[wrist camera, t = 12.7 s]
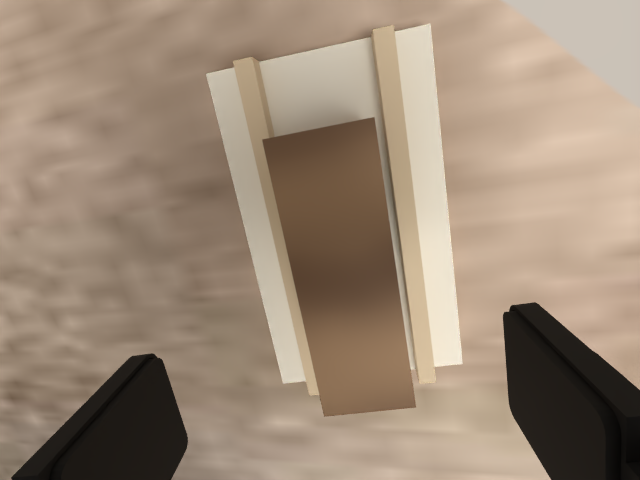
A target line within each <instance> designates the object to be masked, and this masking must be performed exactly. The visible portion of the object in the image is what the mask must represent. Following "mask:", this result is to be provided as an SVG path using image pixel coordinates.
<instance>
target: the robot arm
mask: <svg viewBox="0 0 640 480" xmlns="http://www.w3.org/2000/svg"><path fill="white" fill-rule="evenodd" d="M503 324H504V339H505V354H506V368H507V383H508V398H509V405H510V409H511V412H512V415H513V417H514V419H515V420H516V422H517V424H518V425H519V427H520V429H521V430H522V432H523V434H524V435H525V437H526V439H527V440H528V442H529V444H530V445H531V447H532V449H533V450H534V452H535V454H536V455H537V457H538V459H539V460H540V462H541V463H542V465H543V467H544V468H545V470H546V472H547V473H548V475H549V477H550V478H551V480H640V390H639V389H638V388H637V387H635V386H634V385H633V384H632V383H631V382H630V381H628V380H627V379H626V378H625V377H624V376H623V375H621V374H620V373H619V372H618V371H617V370H616V369H614V368H613V367H612V366H611V365H610V364H609V363H607V362H606V361H605V360H604V359H603V358H602V357H600V356H599V355H598V354H597V353H595V352H594V351H592V350H591V349H590V348H589V347H587V346H586V345H585V344H584V343H583V342H582V341H580V340H579V339H578V338H577V337H576V336H575V335H573V334H572V333H571V332H570V331H569V330H568V329H566V328H565V327H564V326H563V325H562V324H561V323H560V322H558V321H557V320H556V319H555V318H554V317H553V316H551V315H550V314H549V313H548V312H547V311H546V310H544V309H543V308H542V307H541V306H540V305H539V304H537V303H527V304H519V305H512V306H511V307H510V310H509V312H504V314H503ZM187 444H188V437H187V433H186V430H185V427H184V424H183V421H182V418H181V415H180V412H179V409H178V406H177V403H176V400H175V397H174V393H173V390H172V387H171V384H170V381H169V378H168V375H167V372H166V369H165V366H164V363H163V361H162V359H161V358H157V356H156V355H155V354H145V355H137V356H132V357H130V358H129V359H128V360H127V361H126V362H125V363H124V364H123V365H122V366H121V367H120V368H119V369H118V370H117V371H116V372H115V373H114V374H113V375H112V376H111V377H110V378H109V379H108V380H107V381H106V382H105V383H104V384H103V385H102V386H101V387H100V388H99V389H98V390H97V391H96V392H95V393H94V394H93V395H92V396H91V397H90V398H89V400H88V401H87V402H86V403H85V404H84V405H83V406H82V407H81V408H80V409H79V410H78V411H77V412H76V413H75V414H74V415H73V416H72V417H71V418H70V419H69V420H68V421H67V422H66V423H65V424H64V425H63V426H62V427H61V428H60V429H59V430H58V431H57V432H56V433H55V434H54V435H53V436H52V437H51V438H50V439H49V440H48V441H47V442H46V443H45V444H44V445H43V446H42V447H41V448H40V449H39V450H38V451H37V452H36V453H35V454H34V455H33V456H32V457H31V458H30V459H29V460H28V461H27V462H26V463H25V464H24V465H23V466H22V467H21V468H20V469H19V470H18V471H17V472H16V473H15V474H14V475H13V476H12V477H11V478H12V480H171V478H172V476H173V475H174V473H175V471H176V469H177V467H178V465H179V463H180V461H181V459H182V457H183V455H184V453H185V451H186V449H187Z"/></svg>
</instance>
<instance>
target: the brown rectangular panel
mask: <svg viewBox="0 0 640 480" xmlns="http://www.w3.org/2000/svg"><path fill="white" fill-rule="evenodd" d="M262 142H263V146H264V151H265V155H266V160H267V164H268V169H269V173H270V178H271V182H272V187H273V191H274V195H275V200H276V204H277V209H278V213H279V218H280V222H281V227H282V231H283V235H284V240H285V244H286V249H287V253H288V258H289V262H290V267H291V271H292V276H293V280H294V284H295V289H296V293H297V298H298V302H299V307H300V311H301V316H302V320H303V325H304V329H305V333H306V338H307V342H308V347H309V351H310V356H311V360H312V365H313V369H314V373H315V378H316V382H317V387H318V391H319V396H320V400H321V405H322V409H323V414H324V417H325V416H335V415H345V414H355V413H364V412H374V411H384V410H394V409H404V408H414V407H416V404H415V397H414V390H413V383H412V376H411V369H410V362H409V355H408V348H407V341H406V334H405V327H404V320H403V313H402V306H401V299H400V292H399V285H398V278H397V271H396V264H395V257H394V250H393V243H392V236H391V229H390V222H389V215H388V208H387V201H386V194H385V187H384V180H383V173H382V166H381V159H380V152H379V145H378V138H377V131H376V124H375V117H372V118H367V119H362V120H357V121H352V122H347V123H342V124H337V125H332V126H327V127H322V128H317V129H312V130H307V131H302V132H297V133H292V134H287V135H282V136H277V137H272V138H267V139H262Z"/></svg>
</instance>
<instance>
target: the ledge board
mask: <svg viewBox="0 0 640 480" xmlns="http://www.w3.org/2000/svg"><path fill="white" fill-rule="evenodd" d="M233 65H234V68H229V69H225V70H220V71H216V72H211V73H207V74H206V76H207V80H208V84H209V88H210V92H211V96H212V100H213V104H214V108H215V112H216V116H217V120H218V124H219V128H220V132H221V136H222V140H223V144H224V148H225V152H226V156H227V160H228V164H229V168H230V172H231V176H232V180H233V184H234V188H235V192H236V196H237V200H238V204H239V208H240V212H241V216H242V220H243V224H244V228H245V232H246V236H247V240H248V244H249V249H250V253H251V257H252V261H253V265H254V269H255V273H256V277H257V281H258V285H259V289H260V293H261V297H262V301H263V305H264V309H265V313H266V317H267V321H268V325H269V329H270V333H271V337H272V341H273V345H274V349H275V353H276V357H277V361H278V365H279V369H280V373H281V377H282V381H283V384H284V383H293V382H302V381H306V383H307V388H308V392H309V396H310V395H319V391H318V387H317V382H316V378H315V373H314V369H313V365H312V360H311V356H310V351H309V347H308V342H307V338H306V333H305V329H304V325H303V320H302V316H301V311H300V307H299V302H298V298H297V293H296V289H295V284H294V280H293V276H292V271H291V267H290V262H289V258H288V253H287V249H286V244H285V240H284V235H283V231H282V227H281V222H280V218H279V213H278V209H277V204H276V200H275V195H274V191H273V187H272V182H271V178H270V173H269V169H268V164H267V160H266V155H265V151H264V146H263V142H262V139H267V138H272V137H277V136H282V135H287V134H292V133H297V132H302V131H307V130H312V129H317V128H322V127H327V126H332V125H337V124H342V123H347V122H352V121H357V120H362V119H367V118H372V117H375V124H376V131H377V138H378V145H379V152H380V159H381V166H382V173H383V180H384V187H385V194H386V201H387V208H388V215H389V222H390V229H391V236H392V243H393V250H394V257H395V264H396V271H397V278H398V285H399V292H400V299H401V306H402V313H403V320H404V327H405V334H406V341H407V348H408V355H409V362H410V369H416V372H417V376H418V379H419V383H420V384H424V383H433V382H436V376H435V368H434V367H438V366H447V365H456V364H463V363H462V353H461V342H460V331H459V321H458V310H457V300H456V289H455V278H454V268H453V257H452V247H451V236H450V225H449V215H448V204H447V194H446V183H445V173H444V162H443V151H442V141H441V130H440V120H439V109H438V98H437V88H436V77H435V67H434V56H433V45H432V35H431V24H426V25H422V26H417V27H413V28H408V29H404V30H399V31H395V30H394V25H390V26H386V27H381V28H377V29H373V30H372V35H371V37H368V38H364V39H359V40H355V41H350V42H346V43H341V44H337V45H332V46H328V47H323V48H319V49H314V50H310V51H305V52H301V53H296V54H292V55H287V56H283V57H278V58H274V59H269V60H265V61H260V62H258V61H257V60H256V59H254V58H253V57H248V58H244V59H240V60H235V61H233Z"/></svg>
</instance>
